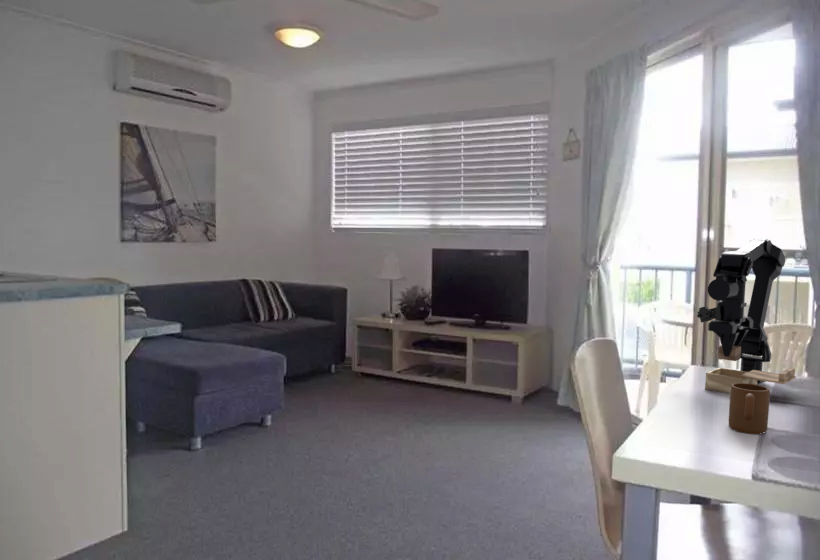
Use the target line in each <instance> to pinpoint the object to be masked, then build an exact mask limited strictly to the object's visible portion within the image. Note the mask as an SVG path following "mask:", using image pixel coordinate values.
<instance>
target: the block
mask: <svg viewBox="0 0 820 560" xmlns="http://www.w3.org/2000/svg"><path fill="white" fill-rule="evenodd" d="M740 357H741V346H733V348H732V350H731V353H730V355H729V356H728V357H727V356H724V353H723V349H722V345H721V344H720V345H718V350H717V359H718V360H723V361H730V362H731V361H732V362H737V361H739V360H741V358H740Z"/></svg>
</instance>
